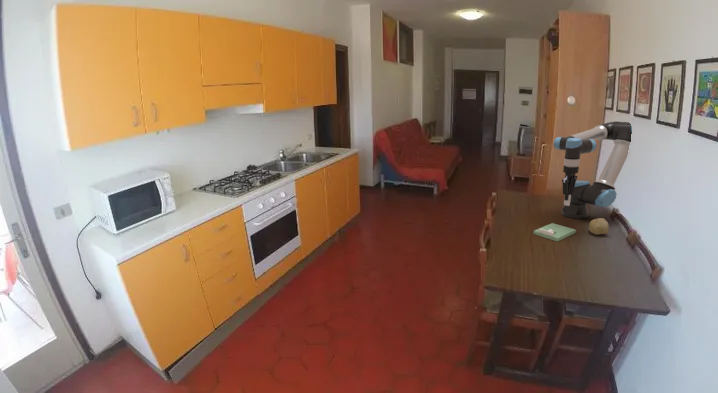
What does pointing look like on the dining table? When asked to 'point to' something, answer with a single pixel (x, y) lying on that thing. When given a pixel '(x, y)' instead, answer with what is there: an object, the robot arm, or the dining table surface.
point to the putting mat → (558, 234)
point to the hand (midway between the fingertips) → (566, 205)
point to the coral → (599, 226)
